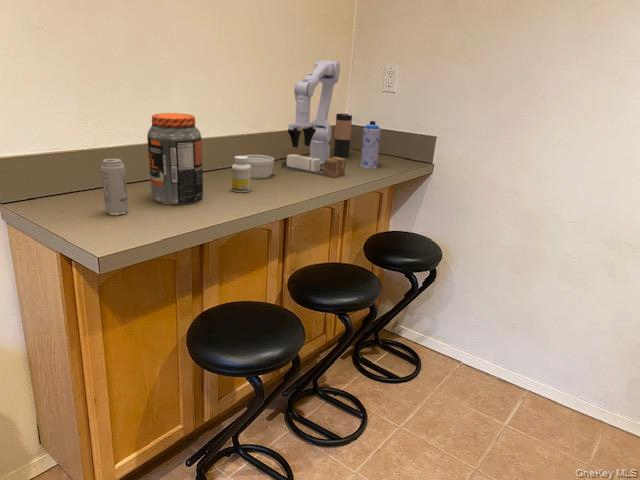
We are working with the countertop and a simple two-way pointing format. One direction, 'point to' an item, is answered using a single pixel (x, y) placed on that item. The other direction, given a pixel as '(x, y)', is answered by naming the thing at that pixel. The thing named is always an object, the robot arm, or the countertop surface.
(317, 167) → the banded cream case
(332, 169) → the socket block
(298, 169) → the guide channel
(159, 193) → the supplement tub
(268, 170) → the ramekin
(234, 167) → the pill bottle
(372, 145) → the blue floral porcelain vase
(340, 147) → the travel mug
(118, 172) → the energy drink can
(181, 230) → the countertop surface
